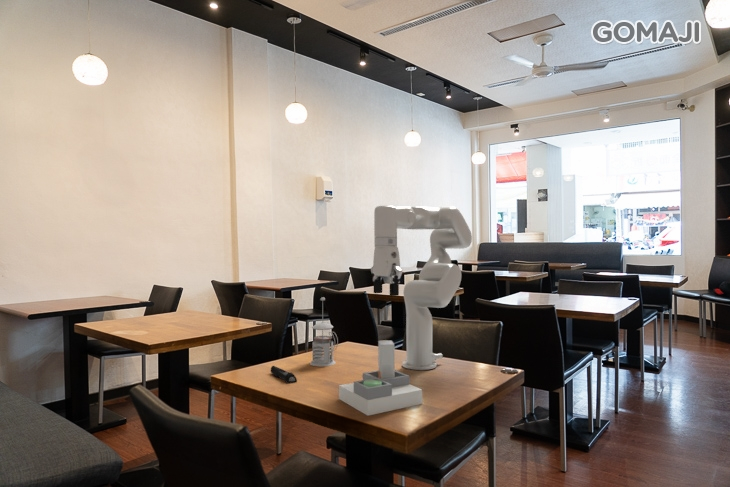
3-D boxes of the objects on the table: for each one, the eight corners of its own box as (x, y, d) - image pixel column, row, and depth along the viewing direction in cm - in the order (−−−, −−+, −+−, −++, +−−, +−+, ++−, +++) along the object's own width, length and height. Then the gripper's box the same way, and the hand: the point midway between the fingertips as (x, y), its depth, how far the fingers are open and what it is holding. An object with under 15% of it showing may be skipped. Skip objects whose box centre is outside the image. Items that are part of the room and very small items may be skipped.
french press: (321, 358, 190) (321, 295, 190) (344, 363, 184) (344, 297, 184) (304, 363, 182) (304, 297, 182) (328, 368, 176) (328, 299, 176)
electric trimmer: (278, 373, 172) (278, 364, 172) (297, 382, 159) (297, 373, 159) (268, 375, 169) (268, 365, 169) (287, 384, 157) (287, 375, 157)
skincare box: (378, 380, 146) (377, 340, 146) (392, 379, 147) (392, 340, 147) (380, 385, 140) (380, 344, 140) (395, 385, 141) (394, 344, 141)
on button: (375, 388, 136) (375, 378, 136) (385, 392, 132) (385, 383, 132) (360, 391, 134) (360, 381, 134) (369, 395, 129) (369, 385, 129)
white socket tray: (390, 389, 150) (390, 366, 150) (422, 403, 137) (422, 378, 137) (339, 399, 141) (339, 374, 141) (367, 415, 127) (367, 389, 127)
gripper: (410, 242, 156) (410, 296, 156) (381, 243, 171) (381, 291, 171) (390, 242, 152) (391, 297, 152) (362, 243, 167) (362, 292, 167)
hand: (385, 294), depth 162 cm, fingers open, 9 cm apart
